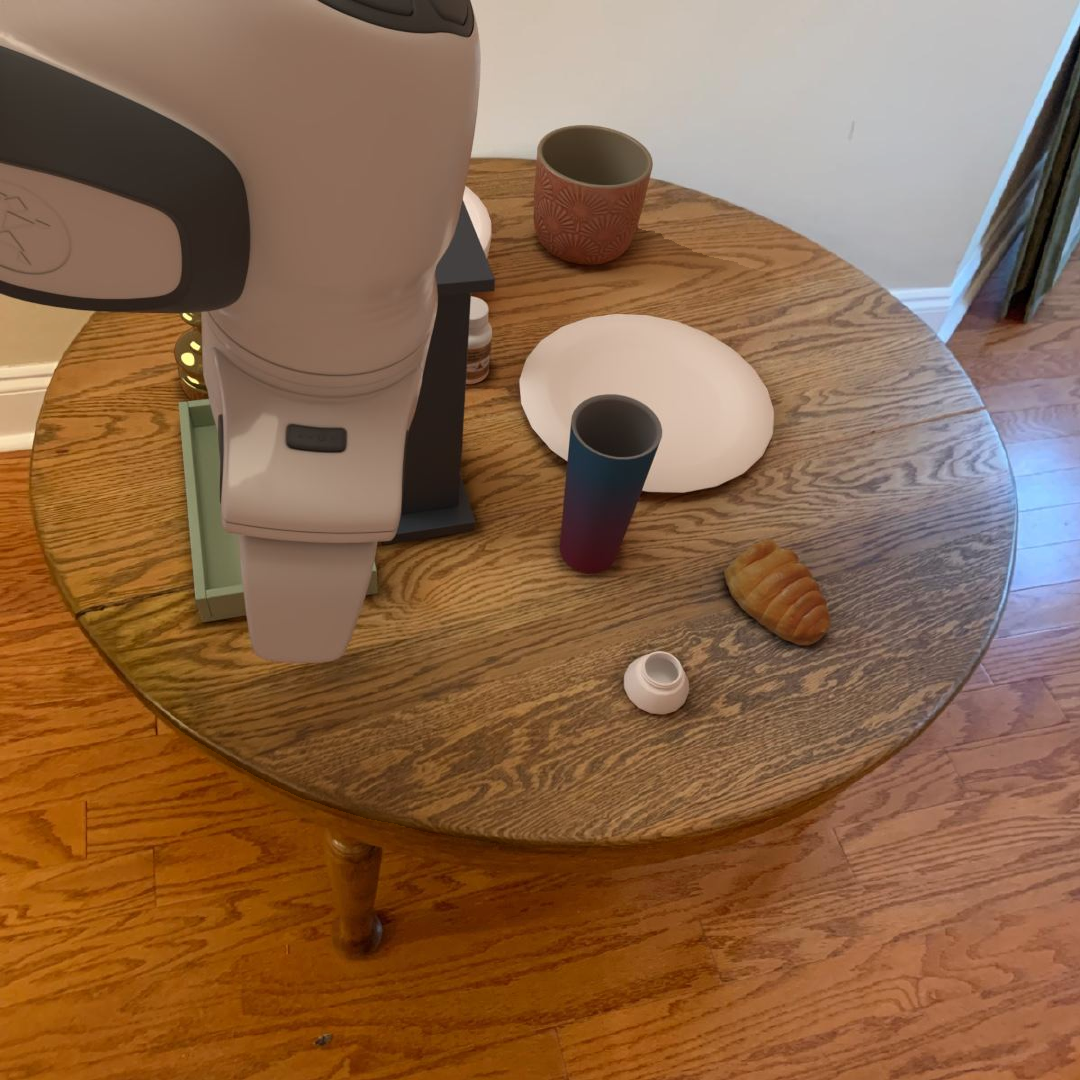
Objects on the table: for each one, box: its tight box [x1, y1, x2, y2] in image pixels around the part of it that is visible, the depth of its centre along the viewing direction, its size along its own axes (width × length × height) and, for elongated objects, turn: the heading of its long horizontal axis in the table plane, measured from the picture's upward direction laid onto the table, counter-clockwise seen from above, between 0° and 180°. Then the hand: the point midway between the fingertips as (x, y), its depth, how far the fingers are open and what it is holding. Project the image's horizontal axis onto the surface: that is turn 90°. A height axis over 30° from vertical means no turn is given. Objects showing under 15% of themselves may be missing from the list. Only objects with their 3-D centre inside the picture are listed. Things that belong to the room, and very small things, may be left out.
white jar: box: [623, 650, 690, 715], centre depth 74 cm, size 5×3×5 cm
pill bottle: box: [466, 295, 493, 385], centre depth 93 cm, size 4×4×8 cm
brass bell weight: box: [173, 312, 209, 401], centre depth 88 cm, size 7×7×10 cm
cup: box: [558, 394, 662, 575], centre depth 78 cm, size 7×7×15 cm
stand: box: [380, 200, 496, 546], centre depth 76 cm, size 8×12×26 cm, turn 16°
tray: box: [178, 399, 379, 623], centre depth 82 cm, size 14×22×3 cm, turn 16°
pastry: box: [723, 538, 832, 646], centre depth 80 cm, size 9×7×4 cm
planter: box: [533, 124, 654, 266], centre depth 107 cm, size 12×12×11 cm
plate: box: [518, 313, 775, 495], centre depth 95 cm, size 25×25×2 cm
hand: (297, 537), depth 50 cm, fingers open, 8 cm apart
